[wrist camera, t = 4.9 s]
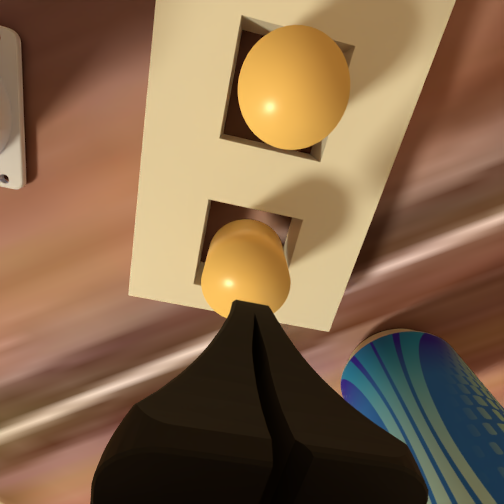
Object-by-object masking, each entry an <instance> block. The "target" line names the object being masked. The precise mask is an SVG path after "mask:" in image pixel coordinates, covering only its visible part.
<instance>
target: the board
mask: <svg viewBox="0 0 504 504" xmlns="http://www.w3.org/2000/svg"><path fill="white" fill-rule="evenodd" d="M455 1H456V0H156V4H155V15H154V26H153V36H152V47H151V58H150V69H149V79H148V90H147V101H146V112H145V122H144V133H143V144H142V155H141V165H140V176H139V187H138V197H137V208H136V219H135V230H134V240H133V251H132V262H131V273H130V283H129V294H128V295H130V296H135V297H141V298H146V299H152V300H157V301H163V302H168V303H174V304H179V305H185V306H190V307H196V308H201V309H207V310H212V311H214V310H213V309H212V308H211V307H210V306H209V304H208V303H207V301H206V300H205V298H204V295H203V292H202V288H201V277H202V273H203V269H204V265H205V262H200V260H201V254H202V249H203V243H204V238H205V232H206V227H207V221H208V216H209V210H210V205H211V200H214V201H219V202H223V203H228V204H233V205H237V206H242V207H246V208H251V209H256V210H260V211H265V212H270V213H274V214H279V215H284V216H288V217H292V219H291V223H290V226H289V230H288V233H287V237H286V240H285V244H284V247H283V250H284V254H285V258H286V262H287V266H288V270H289V274H290V280H291V285H290V291H289V294H288V297H287V299H286V301H285V303H284V304H283V305H282V306H281V308H280V309H279V310H277V311H276V312H275V313H274V315H275V317H276V318H277V320H278V322H279V323H283V324H289V325H294V326H300V327H305V328H311V329H316V330H322V331H327V332H329V330H330V328H331V325H332V322H333V320H334V317H335V314H336V312H337V309H338V307H339V304H340V301H341V299H342V296H343V294H344V291H345V288H346V286H347V283H348V281H349V278H350V275H351V273H352V270H353V268H354V265H355V262H356V260H357V257H358V254H359V252H360V249H361V247H362V244H363V241H364V239H365V236H366V234H367V231H368V228H369V226H370V223H371V221H372V218H373V215H374V213H375V210H376V208H377V205H378V202H379V200H380V197H381V194H382V192H383V189H384V187H385V184H386V181H387V179H388V176H389V174H390V171H391V168H392V166H393V163H394V161H395V158H396V155H397V153H398V150H399V148H400V145H401V142H402V140H403V137H404V134H405V132H406V129H407V127H408V124H409V121H410V119H411V116H412V114H413V111H414V108H415V106H416V103H417V101H418V98H419V95H420V93H421V90H422V88H423V85H424V82H425V80H426V77H427V74H428V72H429V69H430V67H431V64H432V61H433V59H434V56H435V54H436V51H437V48H438V46H439V43H440V41H441V38H442V35H443V33H444V30H445V28H446V25H447V22H448V20H449V17H450V14H451V12H452V9H453V7H454V4H455ZM289 25H305V26H310V27H313V28H316V29H318V30H320V31H322V32H324V33H325V34H326V35H328V36H329V37H330V38H331V39H332V40H333V41H334V42H335V43H336V44H337V45H338V47H339V48H340V49H341V51H342V53H343V55H344V57H345V59H346V62H347V65H348V69H349V73H350V95H349V100H348V104H347V107H346V110H345V112H344V114H343V116H342V118H341V120H340V122H339V123H338V125H337V126H336V127H335V128H334V130H333V131H332V132H331V133H330V134H329V135H328V136H327V137H325V138H324V139H323V140H321V141H320V142H318V143H316V144H314V145H312V149H311V152H310V154H308V153H303V152H299V151H295V150H286V149H280V148H276V147H273V146H271V145H269V144H265V143H261V142H257V141H252V140H248V139H244V138H240V137H236V136H231V135H227V134H223V133H224V128H225V122H226V117H227V111H228V106H229V100H230V95H231V89H232V84H233V78H234V73H235V67H236V62H237V56H238V51H239V45H240V40H241V34H242V30H245V31H249V32H253V33H256V34H260V35H264V36H265V35H266V34H268V33H270V32H271V31H273V30H275V29H278V28H281V27H284V26H289Z"/></svg>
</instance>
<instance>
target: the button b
mask: <svg viewBox="0 0 504 504" xmlns="http://www.w3.org/2000/svg"><path fill="white" fill-rule="evenodd" d="M349 95H350V73H349V69H348V65H347V62H346V59H345V57H344V55H343V53H342V51H341V49H340V48H339V47H338V45H337V44H336V43H335V42H334V41H333V40H332V39H331V38H330V37H329V36H328V35H326V34H325V33H324V32H322V31H320V30H318V29H316V28H313V27H310V26H305V25H289V26H284V27H281V28H278V29H275V30H273V31H271V32H270V33H268V34H266V35H265V36H264V37H262V38H261V39H260V40H259V41H258V42H257V43H256V44H255V45H254V46H253V47H252V49H251V50H250V52H249V53H248V55H247V57H246V58H245V60H244V63H243V65H242V68H241V71H240V75H239V80H238V101H239V106H240V110H241V112H242V115H243V118H244V120H245V121H246V123H247V125H248V126H249V128H250V129H251V131H252V132H253V133H254V134H255V135H256V136H257V137H258V138H260V139H261V140H262V141H264V142H265V143H267V144H269V145H271V146H273V147H276V148H280V149H286V150H296V149H303V148H307V147H309V146H312V145H314V144H316V143H318V142H320V141H321V140H323V139H324V138H325V137H327V136H328V135H329V134H330V133H331V132H332V131H333V130H334V128H335V127H336V126H337V125H338V123H339V122H340V120H341V118H342V116H343V114H344V112H345V110H346V107H347V104H348V100H349Z"/></svg>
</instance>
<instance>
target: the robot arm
mask: <svg viewBox="0 0 504 504" xmlns="http://www.w3.org/2000/svg"><path fill="white" fill-rule="evenodd" d="M0 37H1V39H0V186H1V187H6V188H11V189H20V188H23V187H24V186H25V185H26V156H25V131H24V105H23V79H22V53H21V40H20V37H19V35H18V34H17V33H16V32H15V31H14V30H12V29H10V28H7V27H4V26H0ZM4 174H5V175H7V176H8V178H9V182H8V181H6V180H5V179H4ZM428 491H429V490H428V488H427V485H426V483H425V480H424V478H423V476H422V474H421V472H420V469H419V467H418V465H417V463H416V461H415V459H414V457H413V455H412V453H411V451H410V449H409V447H408V446H407V444H405V443H404V442H402V441H401V440H399V439H398V438H396V437H395V436H393V435H392V434H390V433H389V432H387V431H386V430H384V429H383V428H381V427H380V426H378V425H376V424H375V423H374V422H372V421H371V420H370V419H368V418H367V417H366V416H364V415H363V414H362V413H360V412H359V411H358V410H356V409H355V408H354V407H353V406H352V405H350V404H349V403H348V402H347V401H346V400H344V399H343V398H342V397H341V396H340V395H339V394H338V393H337V392H335V391H334V390H333V389H332V388H331V387H330V386H329V385H328V384H327V383H326V382H325V381H324V380H323V379H322V378H321V377H320V376H319V375H318V374H317V373H316V372H315V371H314V369H313V368H312V367H311V366H310V365H309V364H308V363H307V362H306V360H305V359H304V358H303V357H302V355H301V354H300V353H299V351H298V350H297V349H296V348H295V346H294V345H293V343H292V342H291V340H290V339H289V337H288V336H287V335H286V333H285V331H284V330H283V328H282V327H281V325H280V323H279V322H278V320H277V318H276V317H275V315H274V313H273V312H272V310H271V308H270V307H269V306H268V305H262V304H257V303H252V302H246V301H241V300H234V301H233V302H232V305H231V309H230V313H229V315H228V317H227V319H226V321H225V322H224V324H223V326H222V328H221V329H220V331H219V332H218V333H217V335H216V336H215V338H214V339H213V340H212V342H211V343H210V344H209V345H208V347H207V348H206V349H205V350H204V351H203V352H202V353H201V355H200V356H199V357H198V358H197V359H196V360H195V361H194V362H193V363H192V364H190V365H189V366H188V367H187V368H186V369H185V370H184V371H183V372H182V373H181V374H179V375H178V376H177V377H175V378H174V379H173V380H171V381H170V382H169V383H167V384H166V385H165V386H164V387H162V388H161V389H159V390H158V391H156V392H155V393H153V394H151V395H150V396H148V397H146V398H145V399H143V400H141V401H140V402H138V403H136V404H135V405H134V406H133V407H132V408H131V409H130V411H129V412H128V413H127V415H126V416H125V418H124V419H123V420H122V422H121V423H120V425H119V426H118V428H117V429H116V431H115V432H114V434H113V436H112V437H111V439H110V441H109V443H108V444H107V446H106V448H105V450H104V452H103V454H102V457H101V459H100V461H99V464H98V466H97V469H96V471H95V474H94V477H93V481H92V486H91V503H90V504H427V502H428Z"/></svg>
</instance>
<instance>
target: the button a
mask: <svg viewBox="0 0 504 504" xmlns="http://www.w3.org/2000/svg"><path fill="white" fill-rule="evenodd" d="M290 285H291V280H290V274H289V270H288V266H287V262H286V258H285V254H284V250H283V246H282V243H281V240H280V238H279V236H278V235H277V234H276V232H275V231H274V230H273V229H272V228H270V227H269V226H268V225H266V224H264V223H262V222H260V221H256V220H251V219H241V220H236V221H233V222H230V223H228V224H226V225H224V226H223V227H222V228H220V229H219V230H218V231H217V233H216V234H215V235H214V237H213V238H212V241H211V243H210V247H209V250H208V254H207V258H206V262H205V265H204V269H203V273H202V277H201V288H202V292H203V295H204V298H205V300H206V301H207V303H208V304H209V306H210V307H211V308H212V309H213V310H214V311H216V312H217V313H218V314H220V315H221V316H223V317H225V318H227V317H228V315H229V313H230V309H231V305H232V302H233V301H234V300H241V301H246V302H252V303H257V304H262V305H268V306H269V307H270V308H271V310H272V312H273V313H275V312H276V311H277V310H279V309H280V308H281V306H282V305H283V304H284V303H285V301H286V299H287V297H288V294H289V291H290Z"/></svg>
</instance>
